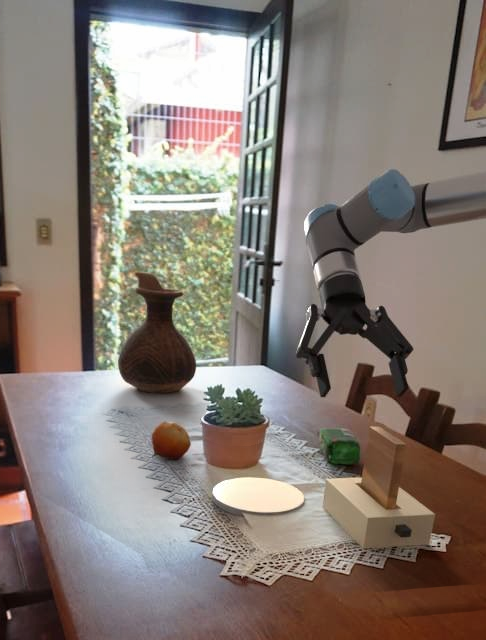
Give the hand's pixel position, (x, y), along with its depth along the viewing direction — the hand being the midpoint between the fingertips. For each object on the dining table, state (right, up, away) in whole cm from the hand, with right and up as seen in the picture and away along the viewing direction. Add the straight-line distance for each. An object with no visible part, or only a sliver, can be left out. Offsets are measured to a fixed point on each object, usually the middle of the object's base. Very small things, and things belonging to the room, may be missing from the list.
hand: (364, 392), depth 111 cm
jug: (-39, +14, +81) cm, 91 cm away
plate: (-17, -17, +9) cm, 26 cm away
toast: (+1, -21, -1) cm, 21 cm away
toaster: (+1, -22, 0) cm, 22 cm away
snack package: (+2, -8, +33) cm, 34 cm away
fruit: (-33, -9, +28) cm, 44 cm away
